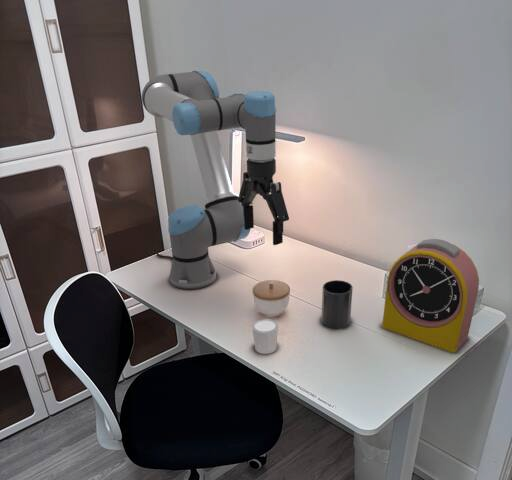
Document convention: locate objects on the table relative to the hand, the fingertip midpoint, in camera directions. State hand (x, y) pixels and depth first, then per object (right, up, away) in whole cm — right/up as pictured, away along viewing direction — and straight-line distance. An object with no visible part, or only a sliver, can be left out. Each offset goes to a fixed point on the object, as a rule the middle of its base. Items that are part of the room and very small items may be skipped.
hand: (263, 235), depth 147 cm
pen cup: (+21, -24, +2) cm, 32 cm away
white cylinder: (+1, -31, -7) cm, 32 cm away
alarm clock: (+44, -27, -4) cm, 52 cm away
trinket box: (+3, -21, +8) cm, 23 cm away
